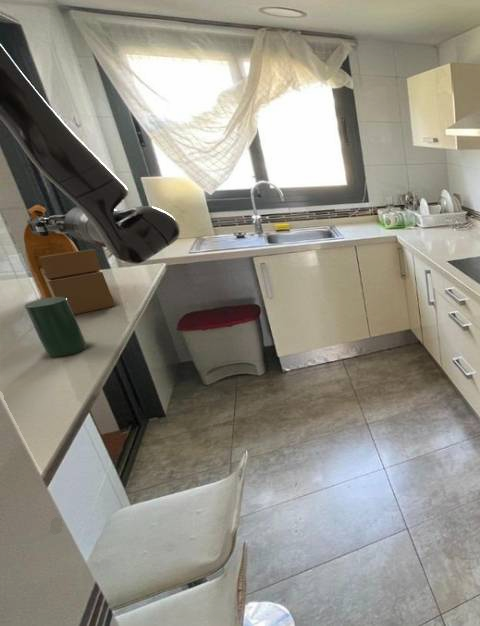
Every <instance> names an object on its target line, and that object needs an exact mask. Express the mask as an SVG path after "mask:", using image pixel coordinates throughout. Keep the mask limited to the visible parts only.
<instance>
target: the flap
mask: <svg viewBox="0 0 480 626" xmlns="http://www.w3.org/2000/svg"><path fill="white" fill-rule="evenodd" d="M39 259H40V261H41V264H42V266H43V269H44V271H45V274H46V276H47V278H48V279H50V278H56V277H62V276H68V275H74V274H80V273H86V272H92V271H97V270H100V271H102V268H101V265H100V261H99V259H98V255H97V252H96V249H95V248H93V249H84V250H78V251H76V252H69V253H62V254H55V255H49V256H42V257H39Z"/></svg>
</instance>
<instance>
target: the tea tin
mask: <svg viewBox="0 0 480 626" xmlns="http://www.w3.org/2000/svg"><path fill="white" fill-rule="evenodd" d="M24 308H25V310H26V313H27V315H28V317H29V319H30V321H31V323H32V325H33V327H34V330H35V332H36V333H37V336H38V338H39V340H40V342H41V344H42V346H43V349H44V351H45V353H46V355H47V356H48V357H49V358H60V357H66V356H69V355H74V354H76V353H79V352H82V351H84V350H86V349H87V348H88V345H87V342H86V339H85V337H84V335H83V332H82V330H81V328H80V326H79V323H78V321H77V319H76V316H75V314H73V312H72V309H71V307H70V305H69V302H68V300H67V298H66V297H52V298H45V299H44V298H42V299H36V300H33V301H30V302H27V303H25V304H24Z"/></svg>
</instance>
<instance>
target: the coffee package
mask: <svg viewBox="0 0 480 626" xmlns="http://www.w3.org/2000/svg"><path fill="white" fill-rule="evenodd" d="M26 211H27V212H28V213H29V214H31V215H30V218H29V219H33V220H34V219H36V217H46V215H45V212H47V209H46V207H44V206H41V205H40V204H35V205H34V206H32V207H30V208H29V209H28V208H27V209H26ZM50 232H51V234H49V235H47V236H39V235H36V234H33V233H32V232H31V229H30V226H29V224H28V223H27V224H26V226H25V228H24V231H23V242H24V249H25V255H26V256H25V257H26V261H27V263H28V266H29V269H30V272H31V275H32V277H33V280H34V282H35V285H36V287H37V289H38V291H39V293H40V295H41V297H42V299H45V298H52V295H51V293H50V291H49V289H48V286H47V284H46V282H45V280H44V277H43V275H42V273H41V272H42V271H41V270H40V269H42V268H43V266H42V264H41V261H40V259H39V257H42V256H49V255H55V254H62V253H69V252H76V251H79V249H78V247H77V246H76V244H75V243H74V242H73V240H71V238H70V237H69V236H67V235H66V234H58V233H56V232H54V231H50Z"/></svg>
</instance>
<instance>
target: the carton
mask: <svg viewBox="0 0 480 626" xmlns="http://www.w3.org/2000/svg"><path fill="white" fill-rule="evenodd" d="M40 270H41V271H42V272H41V273H42V275H43V277H44V280H45V282H46V284H47V286H48V289H49V291H50V293H51V295H52V297H66V298H67V300H68V302H69V305H70V307H71V309H72V312H73V314H74V315H78V314H83V313H87V312H92V311H93V312H94V311H96V310H97V311H98V310H101V309H105V308H106V309H107V308H110V307H115V306H116V303H115V301H114V298H113V296H112V293H111V291H110V288H109V286H108V283H107V280H106V278H105V276H104V273H103V271H102V270H97V271H92V272H86V273H80V274H74V275H68V276H62V277H56V278H50V279H48V278H47V276H46V274H45V271H44V269H43V268H42V269H40Z"/></svg>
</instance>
